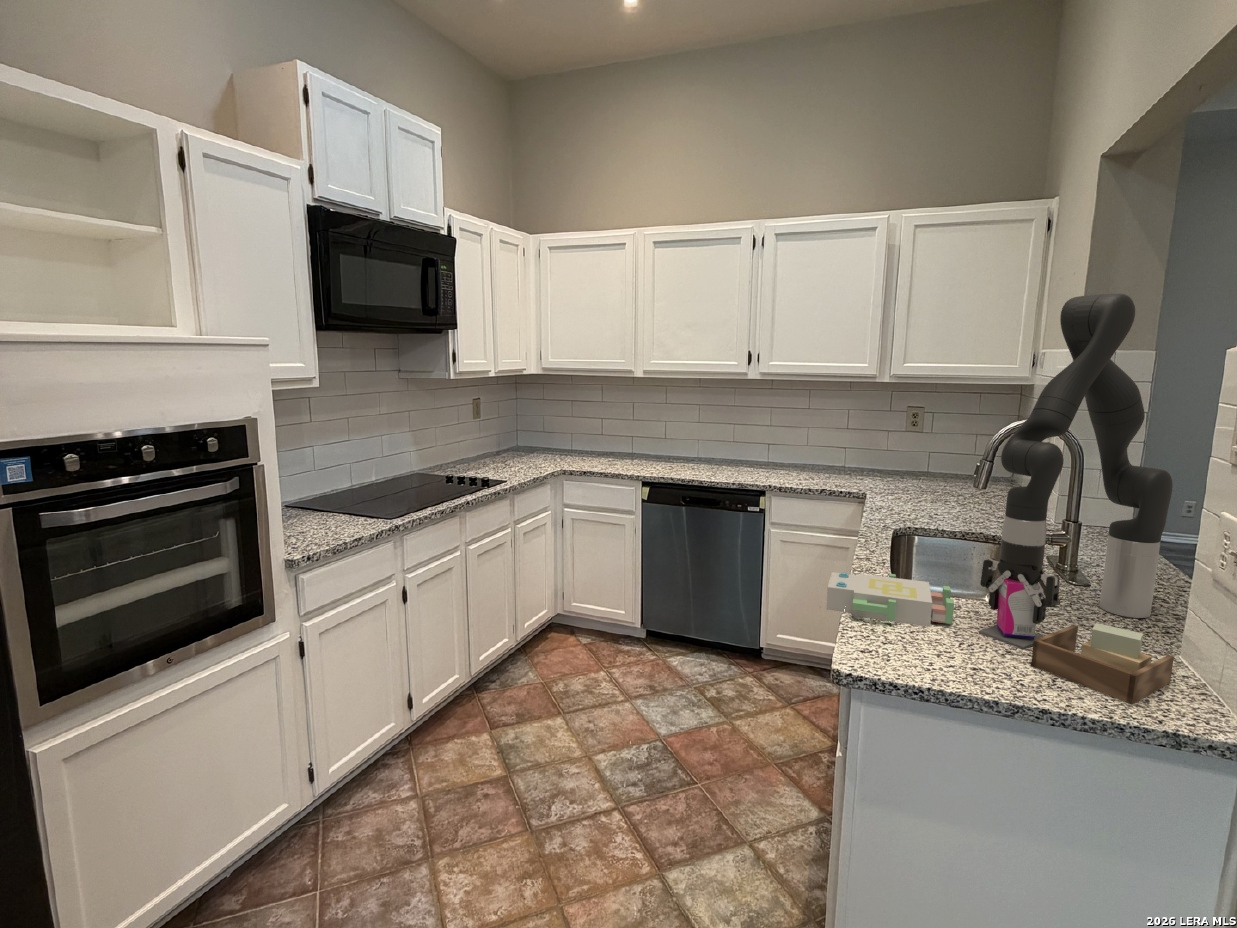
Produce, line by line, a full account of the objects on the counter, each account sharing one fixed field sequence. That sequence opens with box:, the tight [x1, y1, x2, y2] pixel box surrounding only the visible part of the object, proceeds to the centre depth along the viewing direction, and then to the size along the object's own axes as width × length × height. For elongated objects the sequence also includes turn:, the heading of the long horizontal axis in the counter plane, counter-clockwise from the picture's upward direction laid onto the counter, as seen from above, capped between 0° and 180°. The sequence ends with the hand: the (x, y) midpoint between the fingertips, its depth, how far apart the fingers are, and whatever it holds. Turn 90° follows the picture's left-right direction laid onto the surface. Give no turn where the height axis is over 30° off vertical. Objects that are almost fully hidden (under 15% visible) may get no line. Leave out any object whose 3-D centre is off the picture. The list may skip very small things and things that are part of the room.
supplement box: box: [995, 574, 1040, 639], centre depth 133 cm, size 6×6×12 cm
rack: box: [1030, 624, 1175, 705], centre depth 117 cm, size 14×16×5 cm
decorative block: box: [825, 571, 955, 628], centre depth 148 cm, size 26×6×20 cm
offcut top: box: [1090, 622, 1144, 659], centre depth 119 cm, size 4×7×4 cm, turn 46°
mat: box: [978, 624, 1045, 650], centre depth 134 cm, size 9×9×1 cm
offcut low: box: [1080, 639, 1153, 673], centre depth 120 cm, size 5×9×4 cm, turn 31°
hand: (1015, 615), depth 133 cm, fingers closed on supplement box, 8 cm apart
